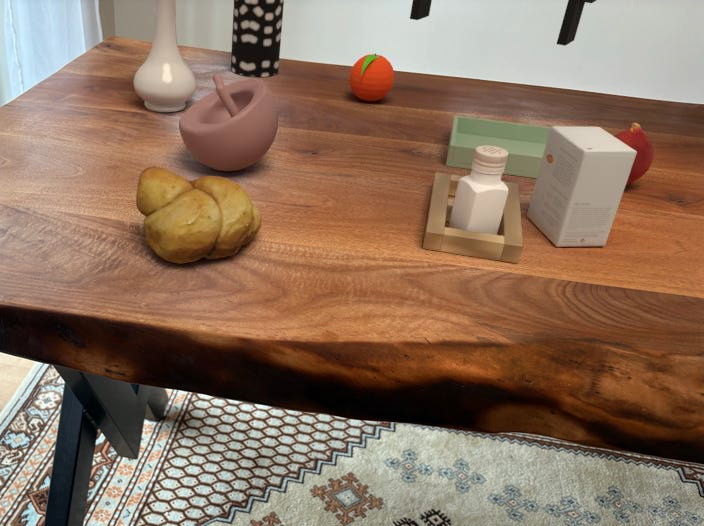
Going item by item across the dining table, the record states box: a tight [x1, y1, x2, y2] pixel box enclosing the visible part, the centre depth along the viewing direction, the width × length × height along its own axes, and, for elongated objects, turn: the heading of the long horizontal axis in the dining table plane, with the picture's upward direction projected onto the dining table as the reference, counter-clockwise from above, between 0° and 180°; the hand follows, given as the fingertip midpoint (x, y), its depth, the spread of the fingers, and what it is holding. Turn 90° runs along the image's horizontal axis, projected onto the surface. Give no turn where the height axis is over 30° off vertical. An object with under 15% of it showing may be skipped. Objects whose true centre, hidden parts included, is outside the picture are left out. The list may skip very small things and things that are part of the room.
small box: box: [526, 125, 637, 248], centre depth 82 cm, size 8×6×10 cm
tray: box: [445, 114, 552, 179], centre depth 103 cm, size 15×13×3 cm
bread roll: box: [135, 165, 263, 264], centre depth 75 cm, size 13×10×8 cm
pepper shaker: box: [448, 145, 509, 235], centre depth 80 cm, size 4×4×10 cm
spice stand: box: [422, 171, 524, 265], centre depth 85 cm, size 10×17×2 cm, turn 164°
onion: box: [613, 122, 654, 185], centre depth 94 cm, size 6×6×8 cm
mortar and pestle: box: [178, 72, 279, 172], centre depth 93 cm, size 12×12×12 cm
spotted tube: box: [230, 0, 285, 78], centre depth 128 cm, size 8×8×20 cm
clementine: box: [349, 53, 395, 102], centre depth 120 cm, size 8×7×7 cm
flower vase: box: [132, 0, 198, 113], centre depth 109 cm, size 13×18×25 cm
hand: (488, 29), depth 70 cm, fingers open, 13 cm apart
